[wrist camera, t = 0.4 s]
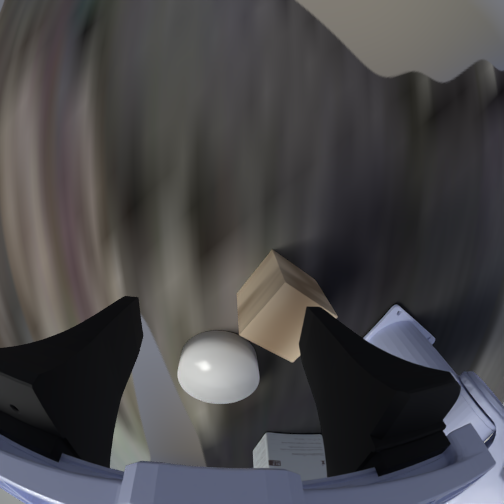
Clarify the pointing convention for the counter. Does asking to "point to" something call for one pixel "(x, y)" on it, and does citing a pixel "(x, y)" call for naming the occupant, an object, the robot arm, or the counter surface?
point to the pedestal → (218, 367)
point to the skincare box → (292, 454)
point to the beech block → (278, 305)
